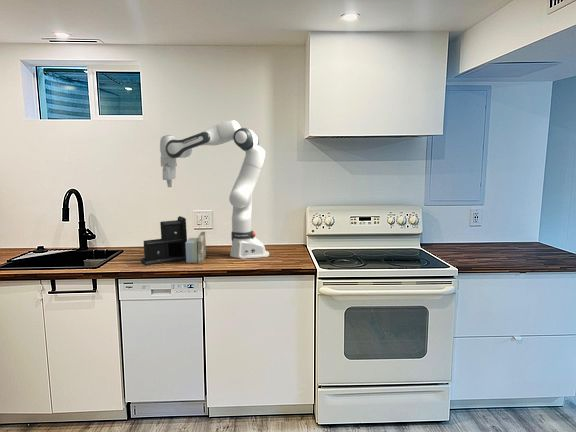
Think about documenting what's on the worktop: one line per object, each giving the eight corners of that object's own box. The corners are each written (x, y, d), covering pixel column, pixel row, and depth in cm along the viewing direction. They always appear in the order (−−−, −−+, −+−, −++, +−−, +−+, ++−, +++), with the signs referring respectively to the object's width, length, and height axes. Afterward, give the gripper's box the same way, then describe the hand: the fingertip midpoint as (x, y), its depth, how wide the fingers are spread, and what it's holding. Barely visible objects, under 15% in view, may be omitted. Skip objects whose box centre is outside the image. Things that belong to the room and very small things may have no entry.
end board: (206, 255, 236) (205, 231, 234) (202, 263, 218) (201, 237, 216) (202, 255, 236) (201, 231, 234) (198, 263, 218) (197, 237, 216)
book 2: (200, 256, 234) (199, 237, 232) (197, 262, 220) (196, 242, 218) (195, 256, 233) (194, 237, 232) (192, 262, 220) (191, 242, 218)
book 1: (195, 256, 233) (194, 237, 232) (192, 262, 220) (191, 242, 218) (190, 257, 233) (189, 238, 232) (186, 262, 219) (185, 242, 218)
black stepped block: (144, 266, 214) (142, 221, 211) (140, 261, 223) (138, 219, 220) (188, 260, 225) (186, 218, 222) (183, 256, 235) (181, 216, 232)
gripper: (170, 163, 229) (171, 188, 231) (177, 163, 249) (178, 186, 251) (159, 163, 228) (160, 188, 230) (166, 163, 249) (167, 186, 250)
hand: (169, 187), depth 241 cm, fingers closed
